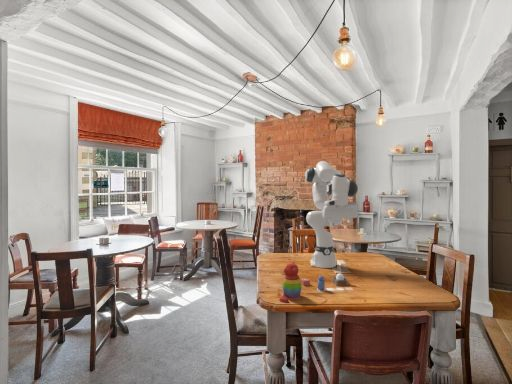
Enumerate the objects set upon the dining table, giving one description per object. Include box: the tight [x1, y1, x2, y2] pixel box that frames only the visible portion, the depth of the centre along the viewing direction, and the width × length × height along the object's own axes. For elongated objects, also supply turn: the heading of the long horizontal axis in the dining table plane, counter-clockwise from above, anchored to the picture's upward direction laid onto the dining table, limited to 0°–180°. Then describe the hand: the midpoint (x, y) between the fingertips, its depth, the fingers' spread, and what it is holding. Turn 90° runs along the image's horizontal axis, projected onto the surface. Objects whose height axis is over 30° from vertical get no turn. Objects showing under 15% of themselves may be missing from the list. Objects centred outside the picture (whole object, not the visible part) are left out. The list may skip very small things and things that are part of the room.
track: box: [315, 286, 354, 292], centre depth 157 cm, size 8×22×1 cm, turn 94°
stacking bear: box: [279, 262, 303, 303], centre depth 147 cm, size 11×10×18 cm
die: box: [300, 277, 311, 287], centre depth 165 cm, size 4×4×4 cm
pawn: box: [317, 275, 326, 292], centre depth 156 cm, size 4×4×7 cm
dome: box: [335, 272, 345, 280], centre depth 166 cm, size 4×4×4 cm
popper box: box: [331, 276, 350, 287], centre depth 166 cm, size 7×7×4 cm
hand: (340, 225), depth 171 cm, fingers open, 8 cm apart
